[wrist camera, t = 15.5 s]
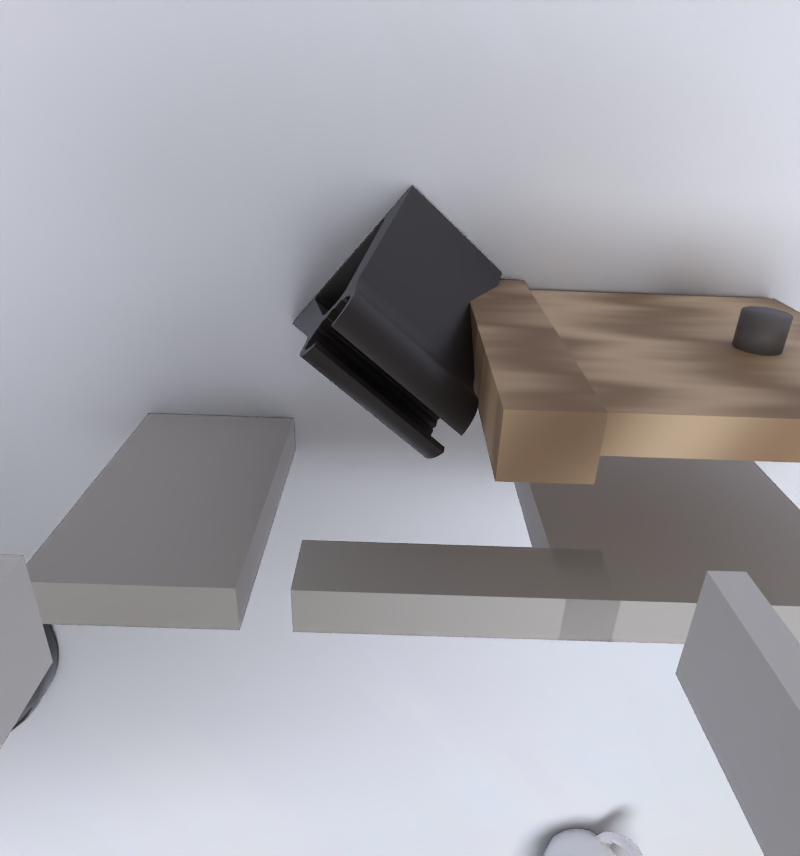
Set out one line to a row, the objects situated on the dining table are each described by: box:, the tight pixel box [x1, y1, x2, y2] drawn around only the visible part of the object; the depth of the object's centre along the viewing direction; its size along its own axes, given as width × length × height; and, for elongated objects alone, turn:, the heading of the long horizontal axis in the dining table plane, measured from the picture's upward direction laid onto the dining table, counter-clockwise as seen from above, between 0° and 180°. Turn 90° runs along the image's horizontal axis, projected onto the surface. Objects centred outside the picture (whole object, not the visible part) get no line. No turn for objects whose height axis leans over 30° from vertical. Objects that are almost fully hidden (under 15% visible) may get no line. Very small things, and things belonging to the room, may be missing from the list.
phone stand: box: [293, 186, 502, 458], centre depth 28 cm, size 9×6×12 cm, turn 137°
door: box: [470, 280, 800, 484], centre depth 26 cm, size 16×3×15 cm, turn 88°
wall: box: [26, 413, 800, 644], centre depth 30 cm, size 32×2×14 cm, turn 88°
